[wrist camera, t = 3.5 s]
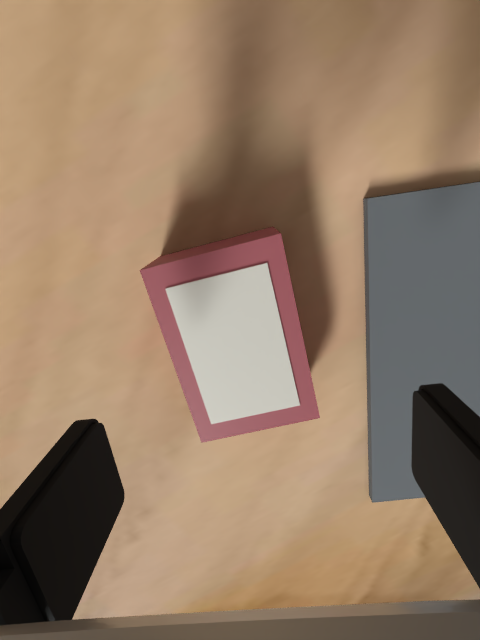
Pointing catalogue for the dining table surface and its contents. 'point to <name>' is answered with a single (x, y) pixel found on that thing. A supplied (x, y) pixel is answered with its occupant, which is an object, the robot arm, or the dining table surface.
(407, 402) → the rubber mat
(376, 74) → the dining table surface
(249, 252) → the card case
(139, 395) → the dining table surface
